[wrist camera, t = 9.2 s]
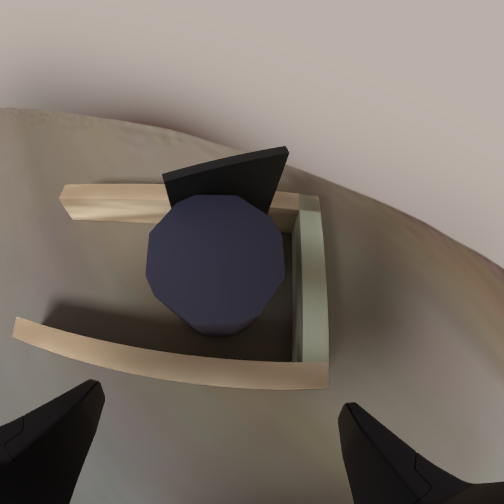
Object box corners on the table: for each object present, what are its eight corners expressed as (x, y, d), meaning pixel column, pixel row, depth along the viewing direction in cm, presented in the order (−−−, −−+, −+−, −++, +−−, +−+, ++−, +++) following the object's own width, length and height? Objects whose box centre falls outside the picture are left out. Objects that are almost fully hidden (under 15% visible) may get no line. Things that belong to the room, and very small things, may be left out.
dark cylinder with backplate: (180, 236, 20) (156, 133, 11) (257, 239, 21) (287, 139, 11) (172, 340, 17) (120, 311, 8) (258, 343, 18) (303, 318, 8)
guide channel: (313, 389, 16) (328, 388, 13) (35, 346, 15) (12, 336, 13) (309, 219, 22) (318, 195, 19) (78, 205, 21) (65, 184, 19)
